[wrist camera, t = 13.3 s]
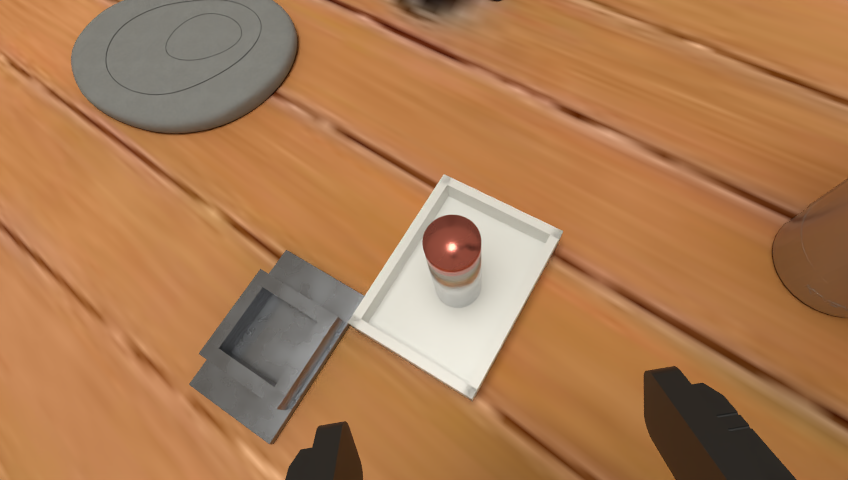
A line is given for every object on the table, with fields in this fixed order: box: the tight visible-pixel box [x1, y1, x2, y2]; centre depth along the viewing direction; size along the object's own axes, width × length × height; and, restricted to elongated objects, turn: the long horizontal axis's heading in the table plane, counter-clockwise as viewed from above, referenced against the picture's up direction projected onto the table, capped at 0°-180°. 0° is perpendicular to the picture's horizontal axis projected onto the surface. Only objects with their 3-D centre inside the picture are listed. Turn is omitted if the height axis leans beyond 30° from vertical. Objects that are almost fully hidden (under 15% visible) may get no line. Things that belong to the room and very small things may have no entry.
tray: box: [348, 174, 563, 402], centre depth 41 cm, size 16×12×3 cm
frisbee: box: [71, 0, 297, 133], centre depth 55 cm, size 20×27×3 cm
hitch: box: [189, 250, 365, 444], centre depth 41 cm, size 14×9×3 cm, turn 149°
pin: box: [422, 215, 481, 308], centre depth 37 cm, size 4×4×10 cm
